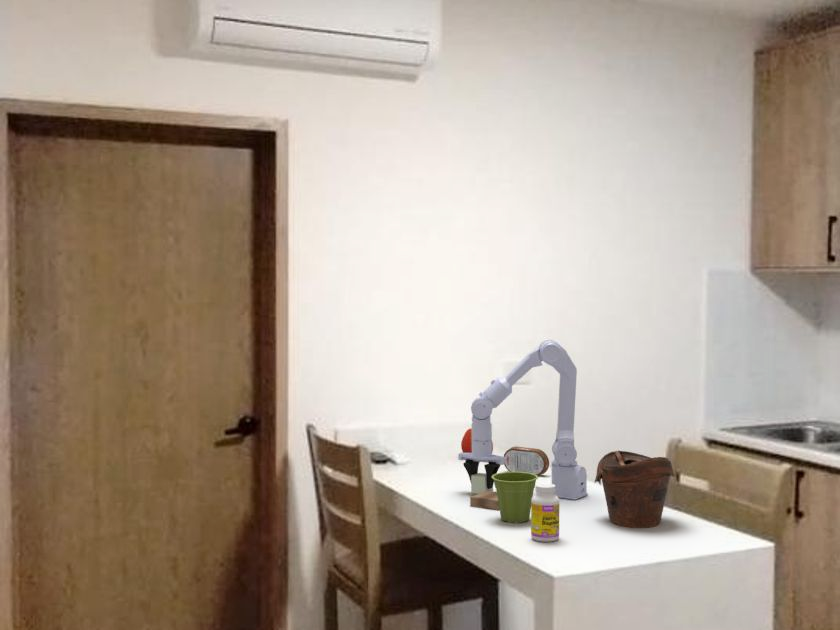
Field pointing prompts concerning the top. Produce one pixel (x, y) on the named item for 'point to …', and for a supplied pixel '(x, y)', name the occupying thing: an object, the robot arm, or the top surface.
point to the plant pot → (514, 495)
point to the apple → (468, 442)
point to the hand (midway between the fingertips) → (482, 487)
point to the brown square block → (485, 500)
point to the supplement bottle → (545, 513)
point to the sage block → (479, 483)
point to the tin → (526, 460)
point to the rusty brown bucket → (634, 487)
